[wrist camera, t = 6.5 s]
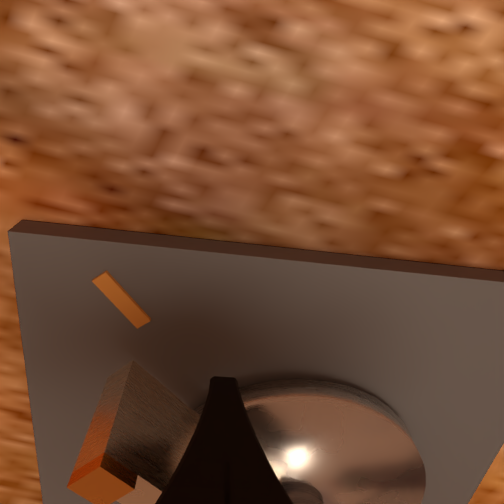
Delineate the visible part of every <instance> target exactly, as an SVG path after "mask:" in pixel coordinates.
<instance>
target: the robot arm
mask: <svg viewBox="0 0 504 504" xmlns="http://www.w3.org/2000/svg"><path fill="white" fill-rule="evenodd" d="M155 504H294V503H293V502H292V500H291V499H290V497H289V496H288V494H287V492H286V491H285V489H284V488H283V486H282V484H281V483H280V481H279V479H278V477H277V476H276V474H275V472H274V470H273V469H272V467H271V465H270V463H269V461H268V459H267V457H266V455H265V453H264V451H263V449H262V447H261V445H260V443H259V440H258V438H257V436H256V434H255V431H254V429H253V427H252V424H251V422H250V419H249V417H248V414H247V412H246V409H245V406H244V403H243V400H242V397H241V393H240V390H239V386H238V381H237V380H236V378H234V377H219V376H214V377H212V378H211V379H210V385H209V391H208V395H207V399H206V402H205V405H204V408H203V411H202V414H201V416H200V419H199V421H198V424H197V427H196V429H195V431H194V434H193V436H192V438H191V440H190V442H189V444H188V446H187V448H186V450H185V453H184V455H183V456H182V458H181V460H180V462H179V464H178V466H177V468H176V470H175V471H174V473H173V475H172V477H171V478H170V480H169V482H168V483H167V485H166V487H165V488H164V490H163V492H162V493H161V495H160V496H159V498H158V500H157V501H156V503H155Z"/></svg>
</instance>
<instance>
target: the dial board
mask: <svg viewBox="0 0 504 504" xmlns="http://www.w3.org/2000/svg"><path fill="white" fill-rule="evenodd" d="M8 237H9V245H10V252H11V260H12V268H13V275H14V283H15V291H16V299H17V306H18V314H19V322H20V329H21V337H22V345H23V353H24V360H25V368H26V376H27V383H28V391H29V399H30V407H31V414H32V422H33V430H34V438H35V445H36V453H37V461H38V468H39V476H40V484H41V492H42V499H43V504H93V503H91V502H90V501H88V500H86V499H85V498H83V497H81V496H80V495H78V494H76V493H75V492H73V491H71V490H70V489H68V488H67V485H68V482H69V480H70V477H71V474H72V472H73V469H74V466H75V464H76V461H77V458H78V456H79V453H80V450H81V448H82V445H83V442H84V440H85V437H86V434H87V431H88V429H89V426H90V423H91V421H92V418H93V415H94V413H95V410H96V407H97V405H98V402H99V399H100V397H101V394H102V391H103V389H104V386H105V383H106V381H107V378H108V377H109V376H111V375H112V374H113V373H115V372H116V371H118V370H119V369H121V368H122V367H124V366H125V365H126V364H128V363H129V362H131V361H132V360H134V361H135V362H136V363H137V364H139V365H140V366H141V367H142V368H143V369H145V370H146V371H147V372H148V373H149V374H151V375H152V376H153V377H154V378H155V379H157V380H158V381H159V382H160V383H161V384H163V385H164V386H165V387H166V388H168V389H169V390H170V391H171V392H172V393H174V394H175V395H176V396H177V397H178V398H180V399H181V400H182V401H183V402H184V403H186V404H187V405H188V406H189V407H190V408H192V409H193V410H195V409H197V408H198V407H199V406H201V405H203V404H205V402H206V399H207V395H208V391H209V385H210V379H211V378H212V377H214V376H219V377H234V378H236V380H237V381H238V386H239V388H243V387H246V386H249V385H253V384H259V383H264V382H269V381H278V380H289V379H309V380H319V381H328V382H333V383H337V384H342V385H346V386H349V387H352V388H355V389H358V390H361V391H363V392H365V393H367V394H369V395H371V396H373V397H375V398H377V399H379V400H380V401H381V402H383V403H384V404H386V405H387V406H388V407H390V408H391V409H392V410H393V411H394V412H395V413H396V414H397V415H398V416H399V417H400V419H401V420H402V421H403V423H404V424H405V426H406V427H407V429H408V431H409V433H410V435H411V437H412V439H413V441H414V444H415V446H416V448H417V450H418V452H419V454H420V456H421V458H422V461H423V463H424V468H425V472H426V487H425V492H424V497H423V500H422V502H421V504H468V502H469V501H470V499H471V497H472V496H473V494H474V492H475V491H476V489H477V487H478V486H479V484H480V482H481V481H482V479H483V477H484V475H485V474H486V472H487V470H488V469H489V467H490V465H491V464H492V462H493V460H494V459H495V457H496V455H497V454H498V452H499V450H500V448H501V447H502V445H503V443H504V271H499V270H489V269H480V268H471V267H461V266H452V265H442V264H433V263H423V262H414V261H405V260H395V259H386V258H376V257H367V256H358V255H348V254H339V253H329V252H320V251H310V250H301V249H292V248H282V247H273V246H263V245H254V244H245V243H235V242H226V241H216V240H207V239H197V238H188V237H179V236H169V235H160V234H150V233H141V232H132V231H122V230H113V229H103V228H94V227H84V226H75V225H66V224H56V223H47V222H37V221H28V220H21V221H20V222H19V223H18V224H16V225H15V226H14V227H13V228H11V229H10V230H9V231H8ZM111 504H121V503H119V502H117V501H114V502H113V503H111Z"/></svg>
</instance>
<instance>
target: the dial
mask: <svg viewBox="0 0 504 504" xmlns="http://www.w3.org/2000/svg"><path fill="white" fill-rule="evenodd" d="M239 390H240V393H241V397H242V400H243V403H244V406H245V409H246V412H247V414H248V417H249V419H250V422H251V424H252V427H253V429H254V431H255V434H256V436H257V438H258V440H259V443H260V445H261V447H262V449H263V451H264V453H265V455H266V457H267V459H268V461H269V463H270V465H271V467H272V469H273V470H274V472H275V474H276V476H277V477H278V479H279V481H280V483H281V484H282V486H283V488H284V489H285V491H286V492H287V494H288V496H289V497H290V499H291V500H292V502H293V503H294V504H421V502H422V500H423V497H424V492H425V487H426V472H425V468H424V463H423V461H422V458H421V456H420V454H419V452H418V450H417V448H416V446H415V444H414V441H413V439H412V437H411V435H410V433H409V431H408V429H407V427H406V426H405V424H404V423H403V421H402V420H401V419H400V417H399V416H398V415H397V414H396V413H395V412H394V411H393V410H392V409H391V408H390V407H388V406H387V405H386V404H384V403H383V402H381V401H380V400H379V399H377V398H375V397H373V396H371V395H369V394H367V393H365V392H363V391H361V390H358V389H355V388H352V387H349V386H346V385H342V384H337V383H333V382H328V381H319V380H309V379H289V380H278V381H269V382H264V383H259V384H253V385H249V386H246V387H243V388H239ZM204 405H205V404H203V405H201V406H199V407H198V408H197V409H195V410H193V409H192V408H190V407H189V406H188V405H187V404H186V403H184V402H183V401H182V400H181V399H180V398H178V397H177V396H176V395H175V394H174V393H172V392H171V391H170V390H169V389H168V388H166V387H165V386H164V385H163V384H161V383H160V382H159V381H158V380H157V379H155V378H154V377H153V376H152V375H151V374H149V373H148V372H147V371H146V370H145V369H143V368H142V367H141V366H140V365H139V364H137V363H136V362H135V361H134V360H132V361H131V362H129V363H128V364H126V365H125V366H124V367H122V368H121V369H119V370H118V371H116V372H115V373H113V374H112V375H111V376H109V377H108V378H107V381H106V383H105V386H104V389H103V391H102V394H101V397H100V399H99V402H98V405H97V407H96V410H95V413H94V415H93V418H92V421H91V423H90V426H89V429H88V431H87V434H86V437H85V440H84V442H83V445H82V448H81V450H80V453H79V456H78V458H77V461H76V464H75V466H74V469H73V472H72V474H71V477H70V480H69V482H68V485H67V488H68V489H70V490H71V491H73V492H75V493H76V494H78V495H80V496H81V497H83V498H85V499H86V500H88V501H90V502H91V503H93V504H111V503H113V502H114V501H117V502H119V503H121V504H155V503H156V501H157V500H158V498H159V496H160V495H161V493H162V492H163V490H164V488H165V487H166V485H167V483H168V482H169V480H170V478H171V477H172V475H173V473H174V471H175V470H176V468H177V466H178V464H179V462H180V460H181V458H182V456H183V455H184V453H185V450H186V448H187V446H188V444H189V442H190V440H191V438H192V436H193V434H194V431H195V429H196V427H197V424H198V421H199V419H200V416H201V414H202V411H203V408H204Z"/></svg>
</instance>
